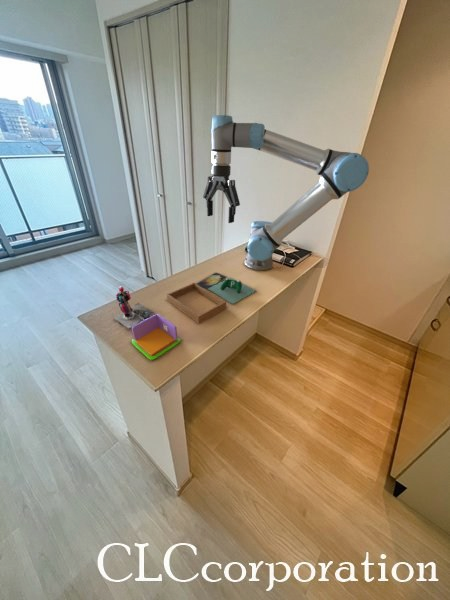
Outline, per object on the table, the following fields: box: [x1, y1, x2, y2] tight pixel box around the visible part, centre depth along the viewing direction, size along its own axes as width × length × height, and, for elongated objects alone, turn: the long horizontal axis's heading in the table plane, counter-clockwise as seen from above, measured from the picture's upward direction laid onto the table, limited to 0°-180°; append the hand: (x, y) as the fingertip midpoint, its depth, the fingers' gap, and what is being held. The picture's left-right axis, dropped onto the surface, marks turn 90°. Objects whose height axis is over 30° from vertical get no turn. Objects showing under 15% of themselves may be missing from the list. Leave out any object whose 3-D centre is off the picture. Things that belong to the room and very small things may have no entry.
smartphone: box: [196, 272, 227, 291], centre depth 114 cm, size 7×1×15 cm
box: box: [166, 282, 227, 324], centre depth 97 cm, size 14×20×3 cm
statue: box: [113, 285, 155, 331], centre depth 85 cm, size 11×9×15 cm
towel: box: [207, 277, 257, 305], centre depth 107 cm, size 15×16×1 cm
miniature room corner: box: [131, 313, 181, 361], centre depth 77 cm, size 12×12×7 cm
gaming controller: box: [220, 277, 243, 293], centre depth 106 cm, size 9×4×6 cm
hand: (220, 219), depth 106 cm, fingers open, 13 cm apart
